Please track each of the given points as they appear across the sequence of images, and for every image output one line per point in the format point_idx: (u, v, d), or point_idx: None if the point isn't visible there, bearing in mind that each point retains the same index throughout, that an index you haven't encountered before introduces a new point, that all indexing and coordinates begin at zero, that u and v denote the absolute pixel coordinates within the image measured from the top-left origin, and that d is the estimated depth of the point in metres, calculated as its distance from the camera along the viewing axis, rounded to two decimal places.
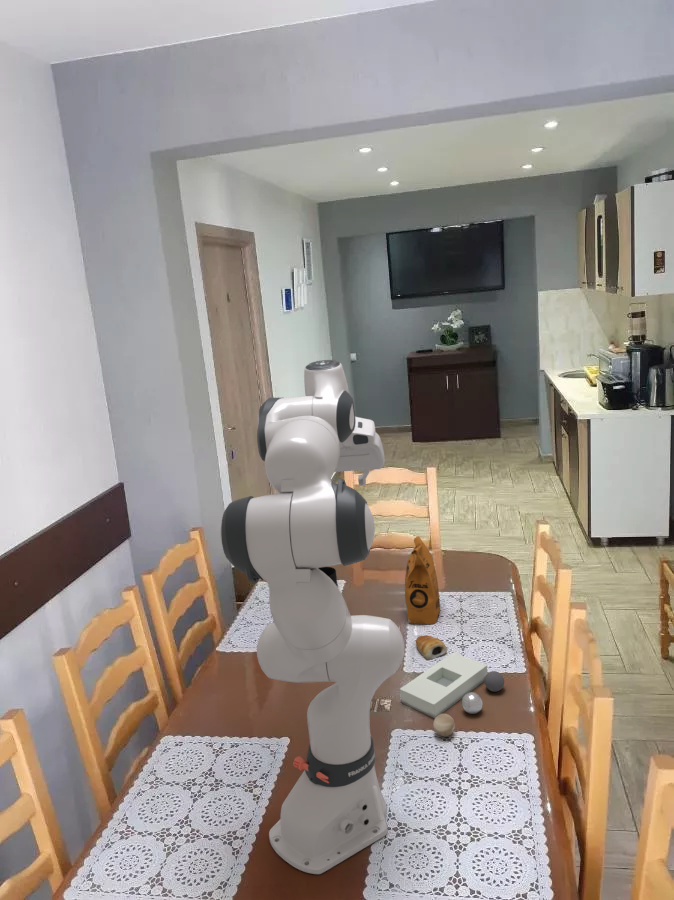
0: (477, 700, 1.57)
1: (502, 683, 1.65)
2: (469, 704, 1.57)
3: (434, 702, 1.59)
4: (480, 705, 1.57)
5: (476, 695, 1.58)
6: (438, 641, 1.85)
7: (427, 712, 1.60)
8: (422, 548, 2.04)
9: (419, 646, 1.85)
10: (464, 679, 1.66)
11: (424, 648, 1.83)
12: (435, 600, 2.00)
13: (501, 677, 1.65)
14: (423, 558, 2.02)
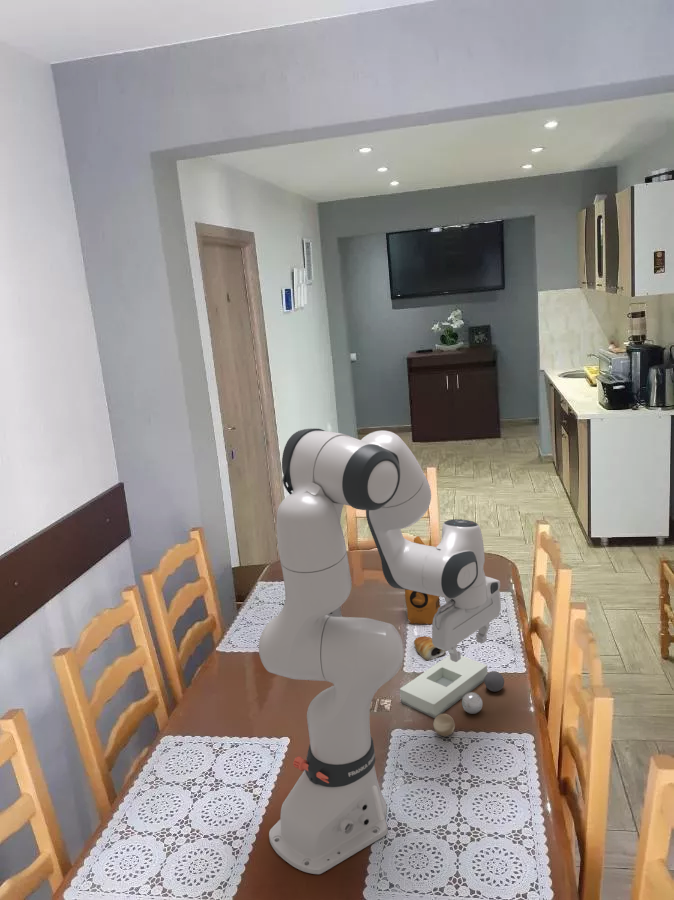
0: (477, 700, 1.57)
1: (502, 683, 1.65)
2: (469, 704, 1.57)
3: (434, 702, 1.59)
4: (480, 705, 1.57)
5: (476, 695, 1.58)
6: None
7: (427, 712, 1.60)
8: None
9: (418, 647, 1.85)
10: (464, 679, 1.66)
11: (423, 649, 1.83)
12: (435, 600, 2.00)
13: (501, 677, 1.65)
14: None
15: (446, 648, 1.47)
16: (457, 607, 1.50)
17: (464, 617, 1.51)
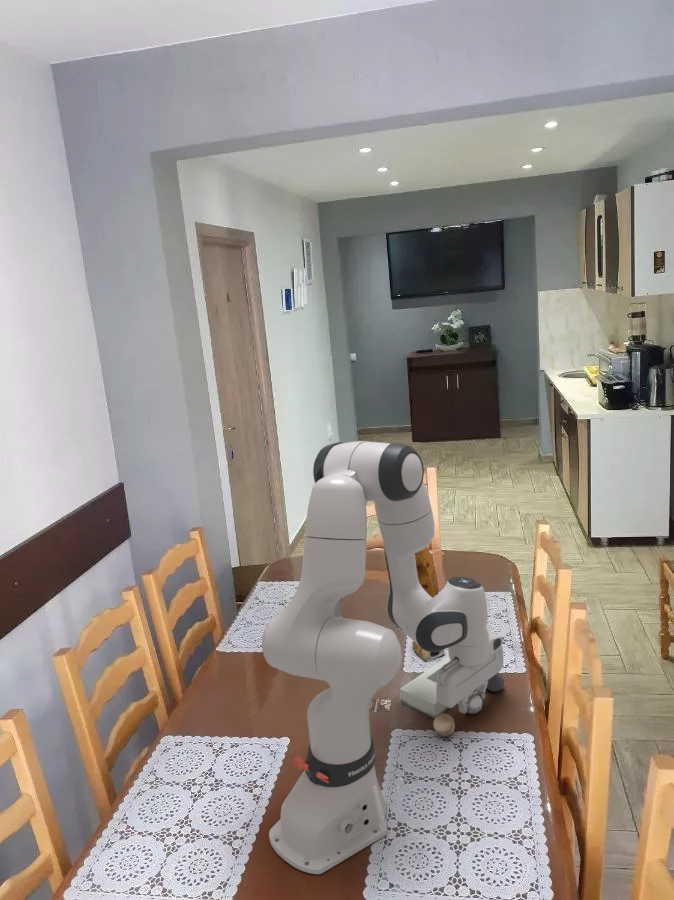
0: (477, 700, 1.57)
1: (502, 683, 1.65)
2: (469, 704, 1.57)
3: (434, 702, 1.59)
4: (480, 705, 1.57)
5: (476, 695, 1.58)
6: None
7: (427, 712, 1.60)
8: None
9: (417, 648, 1.85)
10: None
11: (421, 650, 1.83)
12: None
13: (501, 677, 1.65)
14: (423, 558, 2.02)
15: (450, 705, 1.50)
16: (461, 664, 1.53)
17: (468, 674, 1.54)
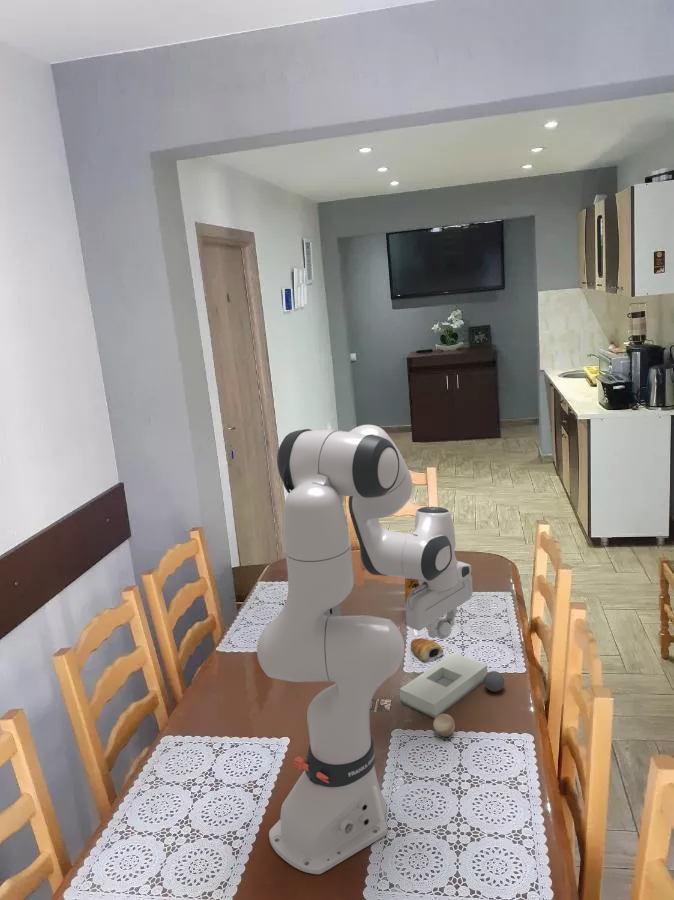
0: (446, 625, 1.63)
1: (502, 683, 1.65)
2: (438, 629, 1.63)
3: (434, 702, 1.59)
4: (449, 630, 1.63)
5: (445, 621, 1.64)
6: (434, 643, 1.84)
7: (427, 712, 1.60)
8: None
9: (415, 649, 1.84)
10: (464, 679, 1.66)
11: (420, 651, 1.82)
12: None
13: (501, 677, 1.65)
14: None
15: (419, 628, 1.56)
16: (429, 589, 1.58)
17: (436, 599, 1.60)
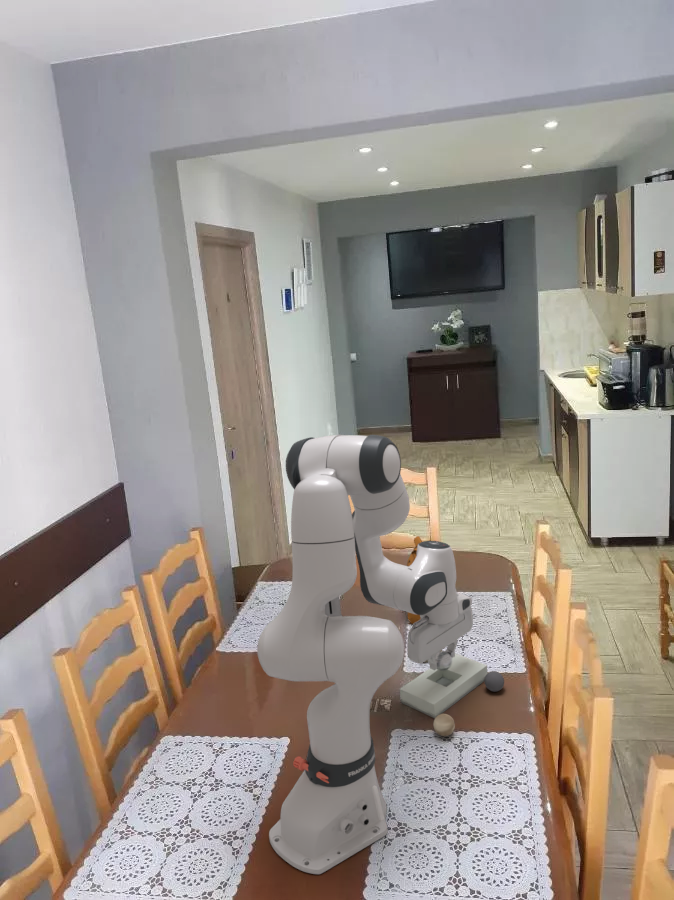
0: (446, 657, 1.65)
1: (502, 683, 1.65)
2: (439, 661, 1.65)
3: (434, 702, 1.59)
4: (450, 662, 1.65)
5: (446, 653, 1.66)
6: None
7: (427, 712, 1.60)
8: None
9: None
10: (464, 679, 1.66)
11: None
12: None
13: (501, 677, 1.65)
14: None
15: (420, 661, 1.58)
16: (431, 623, 1.61)
17: (437, 632, 1.62)
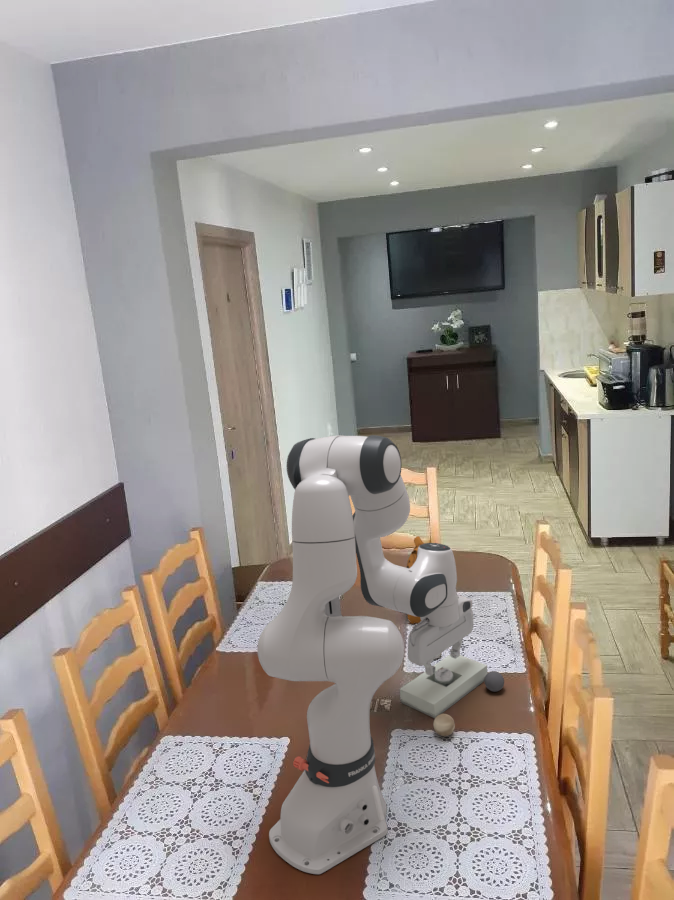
0: (448, 675, 1.66)
1: (502, 683, 1.65)
2: (440, 678, 1.66)
3: (434, 702, 1.59)
4: (451, 680, 1.66)
5: (448, 670, 1.67)
6: None
7: (427, 712, 1.60)
8: None
9: None
10: (464, 679, 1.66)
11: None
12: None
13: (501, 677, 1.65)
14: None
15: (420, 663, 1.58)
16: (431, 625, 1.61)
17: (438, 634, 1.62)
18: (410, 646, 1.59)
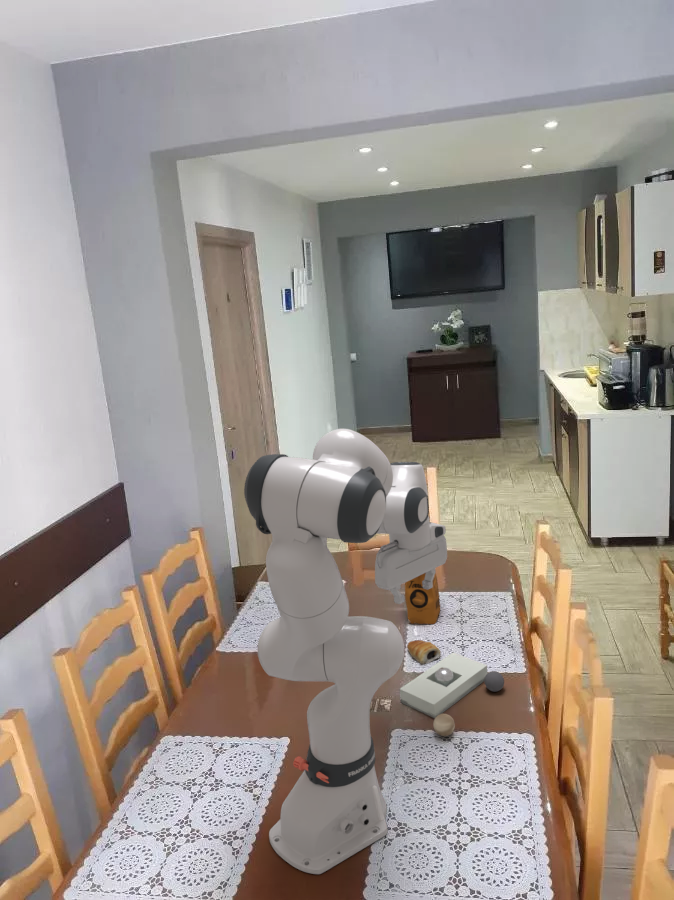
0: (449, 674, 1.66)
1: (502, 683, 1.65)
2: (441, 677, 1.66)
3: (434, 702, 1.59)
4: (452, 679, 1.66)
5: (448, 670, 1.67)
6: (431, 645, 1.83)
7: (427, 712, 1.60)
8: None
9: (412, 651, 1.83)
10: (464, 679, 1.66)
11: (418, 653, 1.81)
12: (435, 600, 2.00)
13: (501, 677, 1.65)
14: None
15: (388, 587, 1.48)
16: (400, 547, 1.51)
17: (407, 558, 1.52)
18: (377, 569, 1.49)
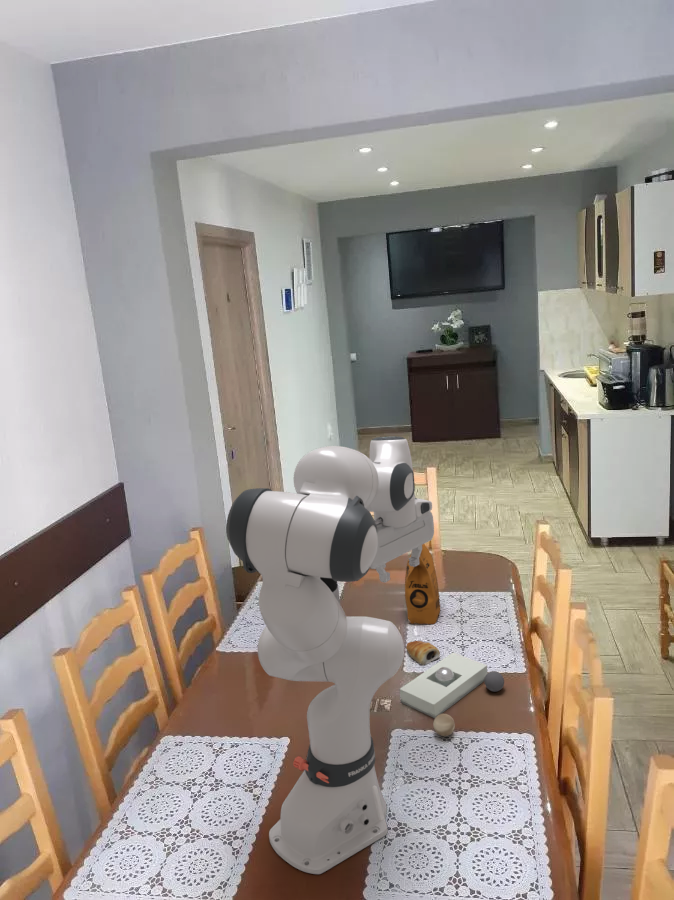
0: (449, 673, 1.67)
1: (502, 683, 1.65)
2: (441, 676, 1.66)
3: (434, 702, 1.59)
4: (452, 679, 1.67)
5: (449, 669, 1.68)
6: (431, 645, 1.83)
7: (427, 712, 1.60)
8: (422, 548, 2.04)
9: (412, 652, 1.83)
10: (464, 679, 1.66)
11: (417, 654, 1.81)
12: (435, 600, 2.00)
13: (501, 677, 1.65)
14: (423, 558, 2.02)
15: (372, 566, 1.44)
16: (385, 525, 1.46)
17: (393, 536, 1.48)
18: None
